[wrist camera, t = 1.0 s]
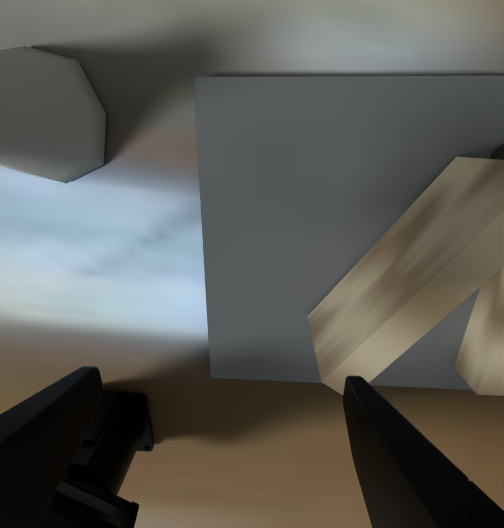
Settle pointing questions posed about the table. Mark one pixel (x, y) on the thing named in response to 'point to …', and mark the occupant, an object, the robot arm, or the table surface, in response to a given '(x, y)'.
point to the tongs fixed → (485, 334)
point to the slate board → (323, 205)
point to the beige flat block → (413, 273)
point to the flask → (48, 116)
